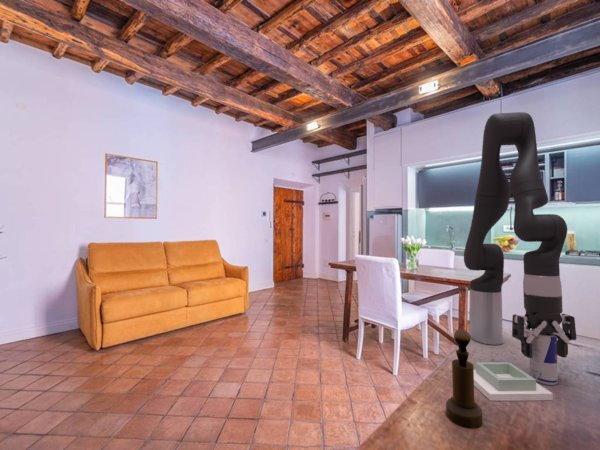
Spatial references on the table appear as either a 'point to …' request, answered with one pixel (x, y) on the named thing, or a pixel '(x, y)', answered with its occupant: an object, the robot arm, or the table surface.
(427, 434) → the table surface
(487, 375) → the baseplate
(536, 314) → the robot arm
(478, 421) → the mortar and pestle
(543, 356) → the energy drink
